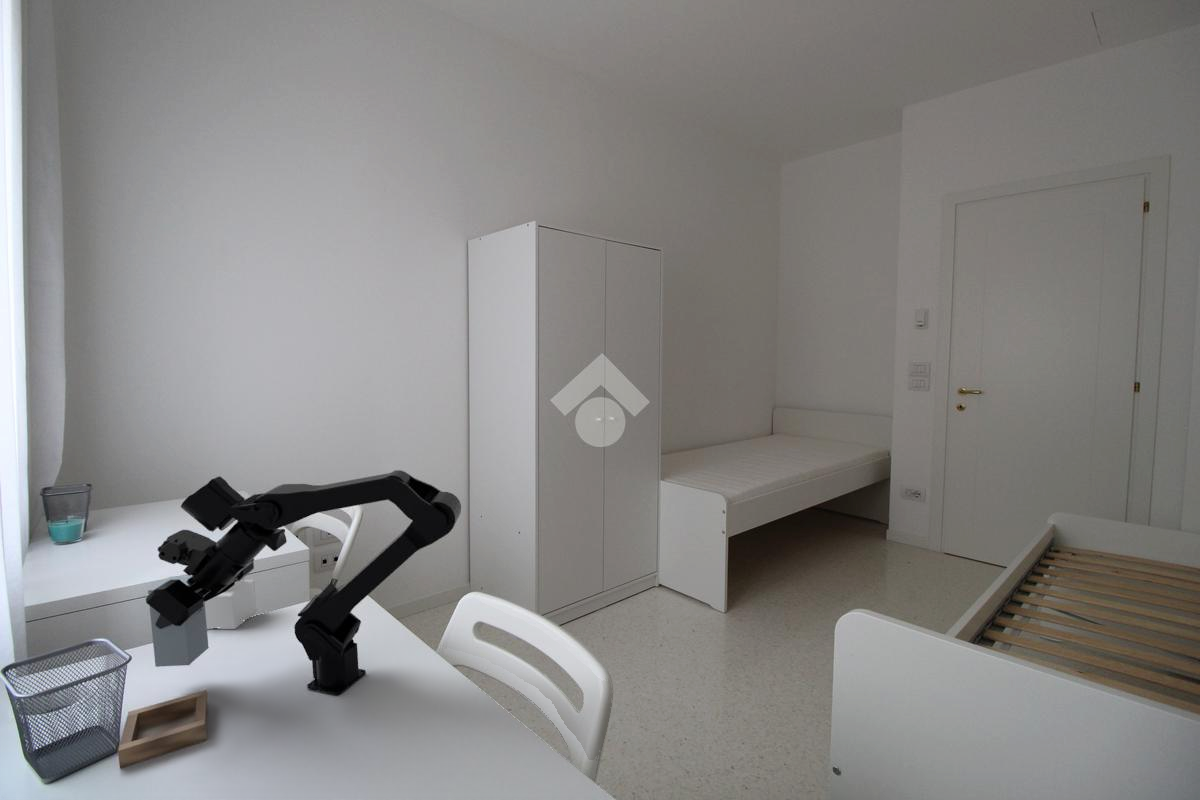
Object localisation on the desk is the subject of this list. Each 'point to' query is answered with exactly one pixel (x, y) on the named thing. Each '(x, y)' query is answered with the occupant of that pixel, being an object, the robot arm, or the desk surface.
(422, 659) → the desk surface
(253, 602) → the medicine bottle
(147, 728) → the walnut socket
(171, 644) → the grey key block
